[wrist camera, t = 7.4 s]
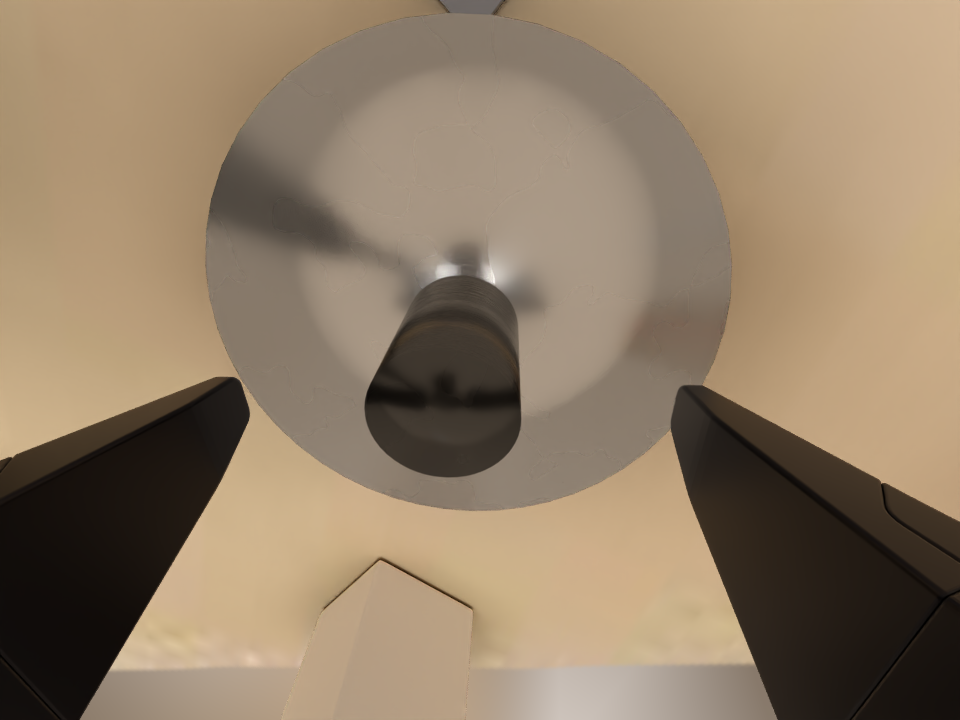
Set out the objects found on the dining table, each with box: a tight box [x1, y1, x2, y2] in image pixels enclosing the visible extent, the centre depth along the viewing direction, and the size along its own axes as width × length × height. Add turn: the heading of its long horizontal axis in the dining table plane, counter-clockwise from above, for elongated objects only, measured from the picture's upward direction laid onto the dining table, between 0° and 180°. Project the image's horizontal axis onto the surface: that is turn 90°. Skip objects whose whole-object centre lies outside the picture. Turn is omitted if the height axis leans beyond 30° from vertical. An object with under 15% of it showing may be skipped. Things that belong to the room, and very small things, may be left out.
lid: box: [206, 13, 732, 511], centre depth 11 cm, size 14×14×5 cm
